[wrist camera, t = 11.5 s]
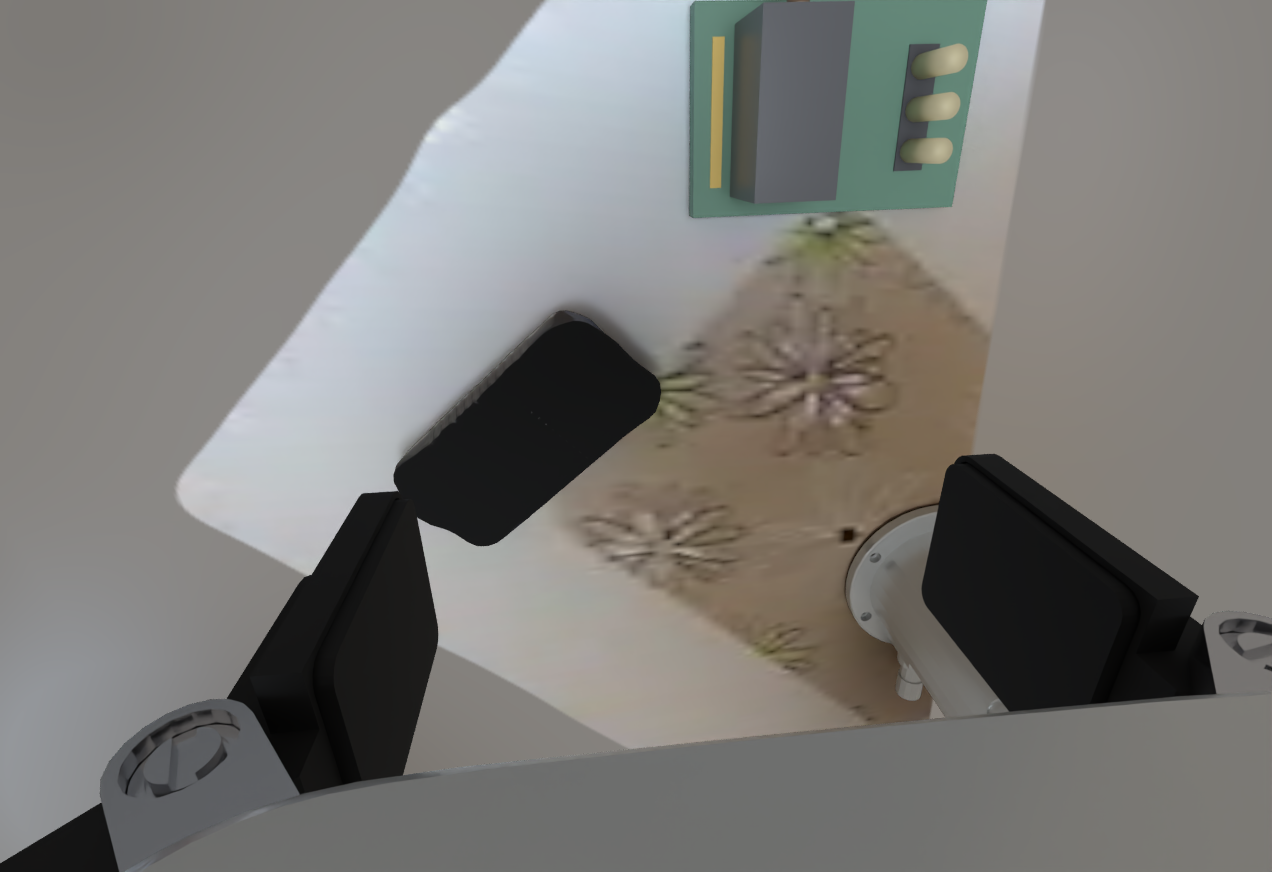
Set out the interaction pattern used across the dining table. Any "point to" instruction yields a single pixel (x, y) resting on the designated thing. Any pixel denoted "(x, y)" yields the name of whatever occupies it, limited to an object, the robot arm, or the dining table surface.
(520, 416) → the black sponge
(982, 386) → the dining table surface
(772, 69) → the plug housing
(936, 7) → the header board
